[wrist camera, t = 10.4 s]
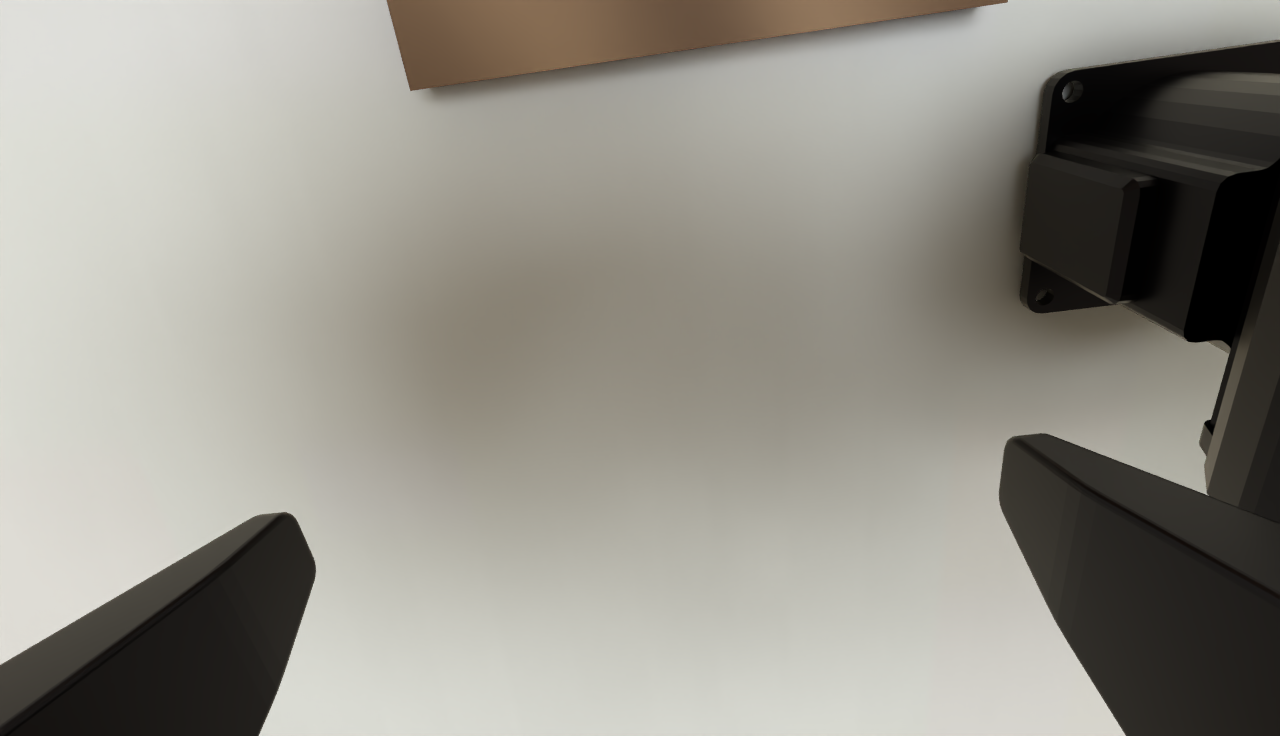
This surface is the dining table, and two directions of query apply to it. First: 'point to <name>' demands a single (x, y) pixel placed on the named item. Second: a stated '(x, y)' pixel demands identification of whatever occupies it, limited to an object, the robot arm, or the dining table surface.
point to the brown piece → (606, 30)
